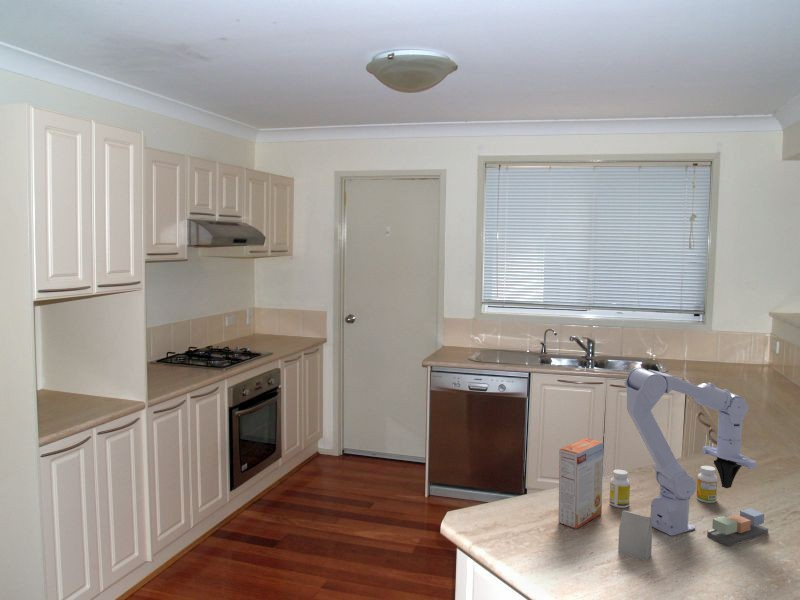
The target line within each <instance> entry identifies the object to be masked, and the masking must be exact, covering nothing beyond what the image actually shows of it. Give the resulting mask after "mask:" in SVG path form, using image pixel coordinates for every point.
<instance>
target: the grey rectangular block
mask: <svg viewBox="0 0 800 600" xmlns="http://www.w3.org/2000/svg"><path fill="white" fill-rule="evenodd" d="M620 516H621V517H620V522H619V529H618V545H617V546H618V547H617V552H618V553H620V554H623V555H626V556H631V557H632V558H636V559H639V560H642V561H645V562H646V561H648V559H650V557H651V556H652V546H653V544H652V543H653V529H652V528H653V527H652V526H651V517H650V516H647V515H642V514H639V513H636V512H631V511H629V510H625V509H623V510H622V511H621V515H620Z"/></svg>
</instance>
